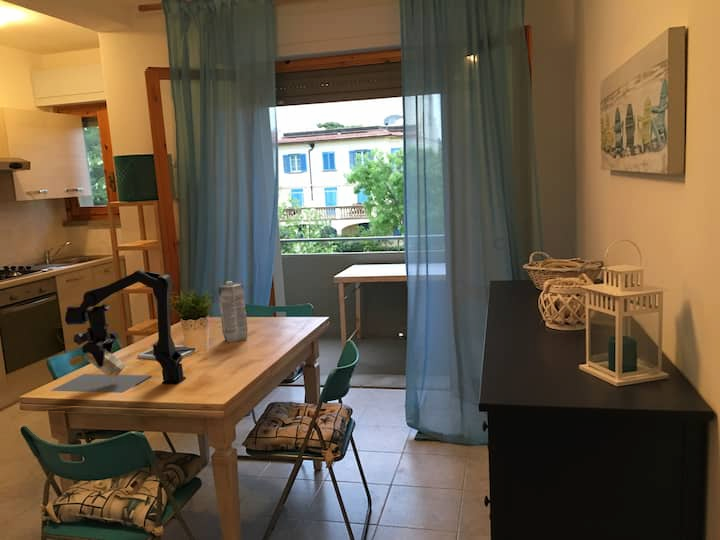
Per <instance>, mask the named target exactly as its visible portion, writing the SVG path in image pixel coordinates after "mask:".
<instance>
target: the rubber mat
mask: <svg viewBox="0 0 720 540" xmlns="http://www.w3.org/2000/svg"><path fill="white" fill-rule="evenodd" d="M152 377H153V376H152V374H151V375H150V374H146V375H145V374H118V375H117V376H116V377H115V378H114V379H112V378H110V377H109V376H108V375H106V374H105V373H104V374H103V373H99V374H98V373H83V374H81V375H78V376H77V377H75V378H73V379H71V380H69V381H67V382H64V383H62V384H61V385H58V386H57V387H55V388H53V389H51V390H50V391H51V392H52V391H53V392H54V391H55V392H56V391H57V392H85V393H87V392H88V393H91V392H92V393H118V394H119V393H121V394H122V393H125V392H126V391H128V390H129V389H131V388H132V387H133V388H135V387H137V386H139V385H141V384H142V383H143V382H146V381H147V380H149V379H151V378H152ZM133 388H132V389H133Z"/></svg>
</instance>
